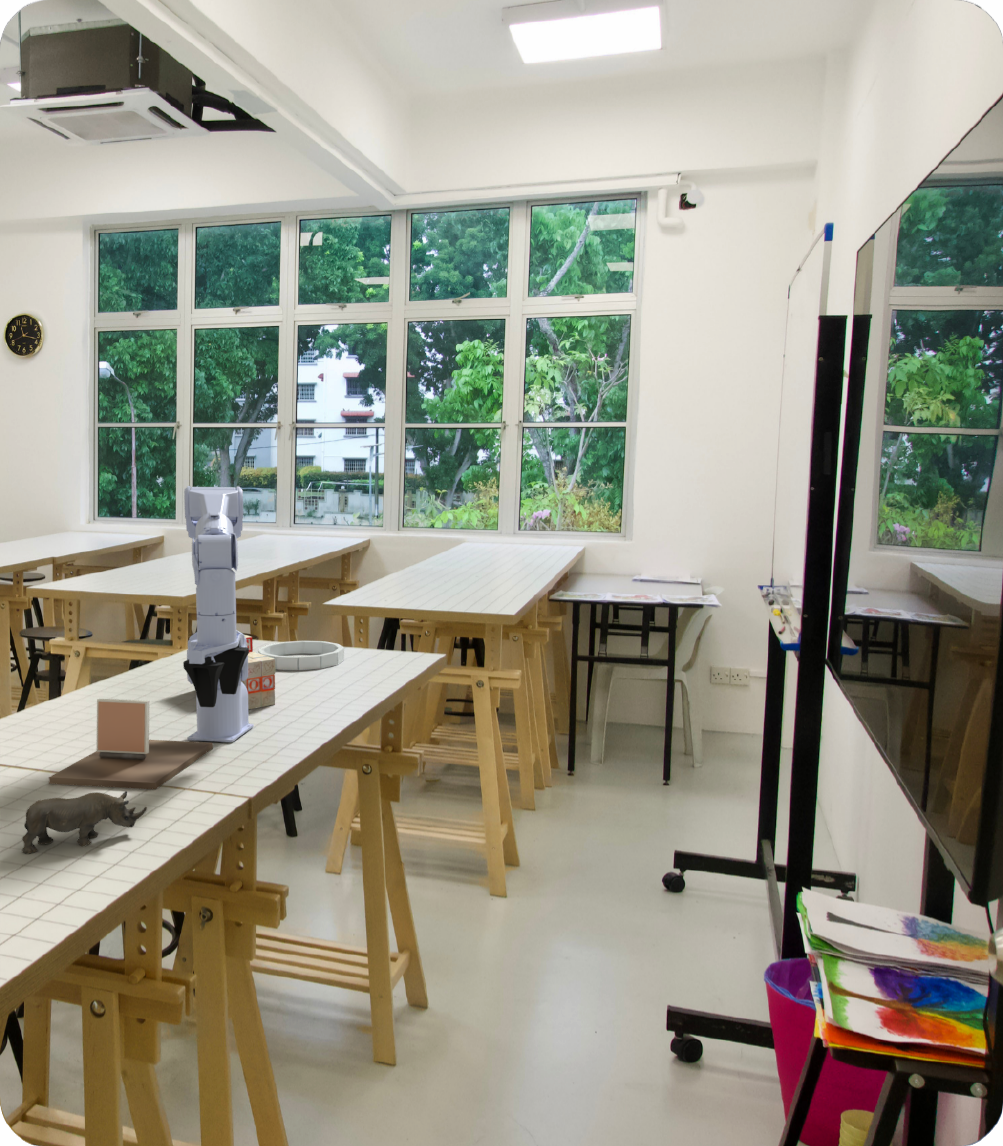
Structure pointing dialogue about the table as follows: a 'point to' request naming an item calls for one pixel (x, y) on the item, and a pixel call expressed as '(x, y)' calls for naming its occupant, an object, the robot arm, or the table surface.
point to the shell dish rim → (329, 656)
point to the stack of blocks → (259, 678)
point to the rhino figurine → (75, 817)
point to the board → (133, 766)
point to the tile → (123, 726)
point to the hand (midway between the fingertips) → (218, 700)
